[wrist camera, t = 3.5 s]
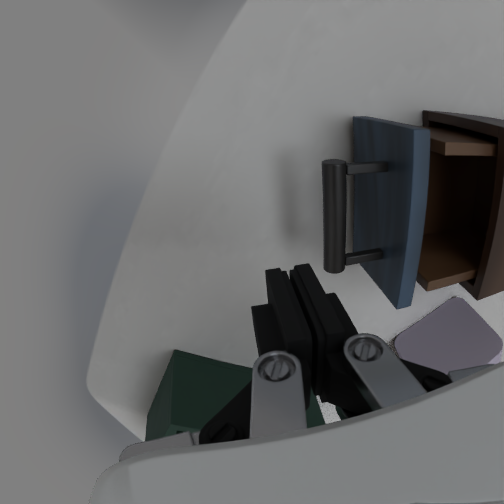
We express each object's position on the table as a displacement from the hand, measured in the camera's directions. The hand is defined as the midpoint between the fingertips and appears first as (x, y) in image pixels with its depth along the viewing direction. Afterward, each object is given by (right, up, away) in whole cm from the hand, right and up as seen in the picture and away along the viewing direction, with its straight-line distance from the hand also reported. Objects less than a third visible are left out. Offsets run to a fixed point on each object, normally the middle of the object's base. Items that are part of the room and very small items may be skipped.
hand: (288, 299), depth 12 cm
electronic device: (+20, -7, +21) cm, 30 cm away
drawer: (+11, +7, +11) cm, 17 cm away
